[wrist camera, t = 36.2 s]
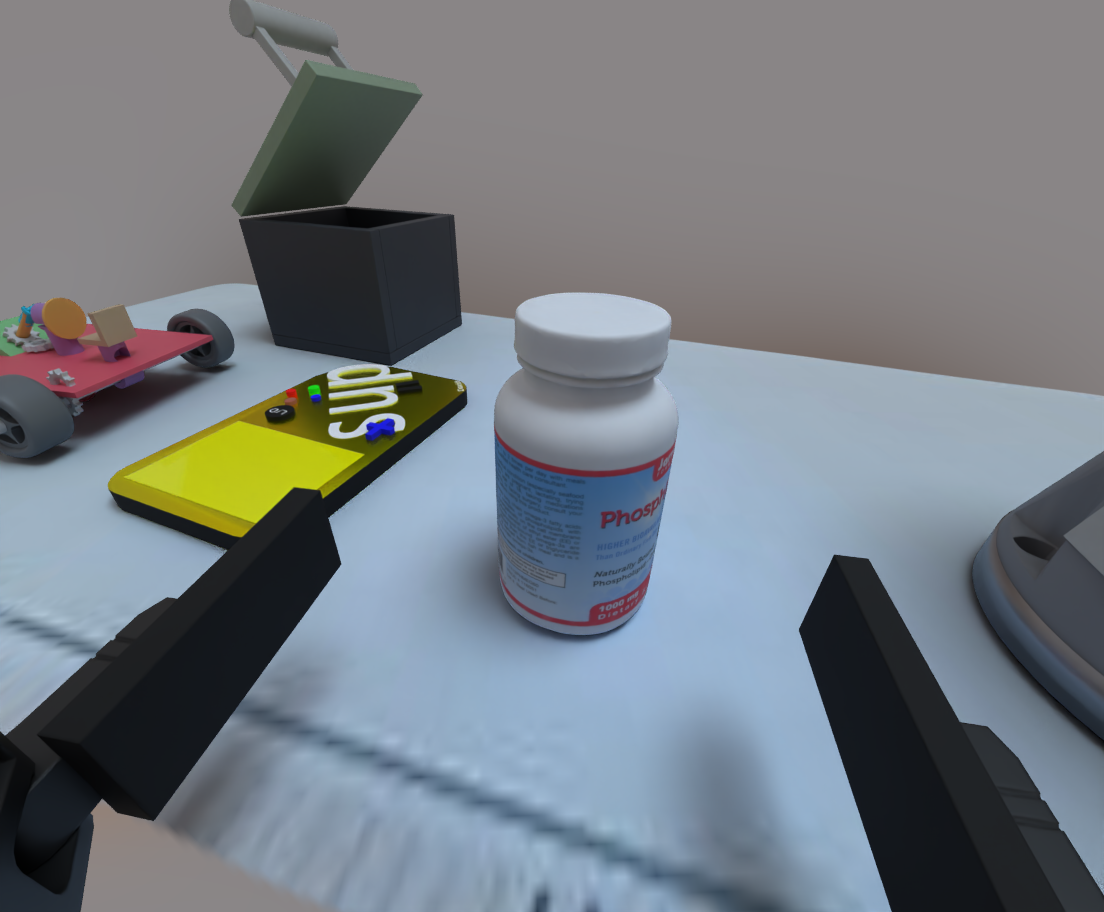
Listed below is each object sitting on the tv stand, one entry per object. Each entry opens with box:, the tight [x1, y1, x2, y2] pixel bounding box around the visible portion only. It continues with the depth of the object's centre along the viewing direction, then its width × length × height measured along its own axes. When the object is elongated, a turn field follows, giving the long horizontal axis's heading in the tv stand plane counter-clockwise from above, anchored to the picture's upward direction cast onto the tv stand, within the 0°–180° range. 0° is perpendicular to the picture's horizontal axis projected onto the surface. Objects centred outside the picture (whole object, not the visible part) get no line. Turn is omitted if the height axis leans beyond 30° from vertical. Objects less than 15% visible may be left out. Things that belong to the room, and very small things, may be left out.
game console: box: [108, 364, 467, 550], centre depth 29 cm, size 18×11×2 cm, turn 160°
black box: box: [239, 206, 462, 365], centre depth 43 cm, size 12×12×10 cm
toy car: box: [0, 298, 234, 458], centre depth 31 cm, size 15×12×7 cm
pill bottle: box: [494, 293, 678, 635], centre depth 17 cm, size 6×6×11 cm
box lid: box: [229, 0, 422, 216], centre depth 37 cm, size 13×12×8 cm
